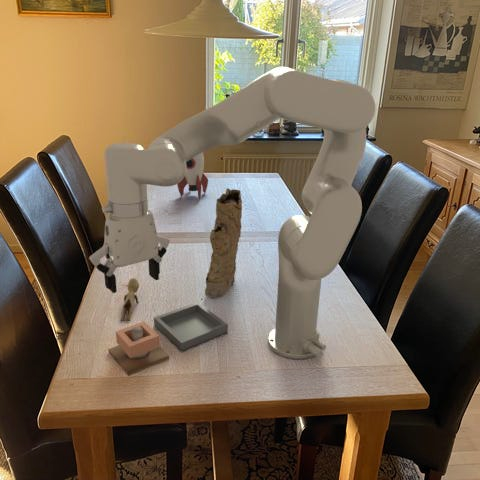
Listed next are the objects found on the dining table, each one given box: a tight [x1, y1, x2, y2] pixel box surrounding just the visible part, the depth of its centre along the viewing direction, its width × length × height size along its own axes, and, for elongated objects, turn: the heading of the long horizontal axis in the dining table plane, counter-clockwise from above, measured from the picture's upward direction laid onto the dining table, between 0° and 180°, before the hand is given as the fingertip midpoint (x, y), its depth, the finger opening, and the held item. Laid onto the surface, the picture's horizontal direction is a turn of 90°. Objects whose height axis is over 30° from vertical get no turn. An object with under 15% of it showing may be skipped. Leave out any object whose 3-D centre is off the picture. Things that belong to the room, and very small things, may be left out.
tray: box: [153, 301, 229, 353], centre depth 121 cm, size 13×13×3 cm
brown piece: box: [108, 327, 170, 377], centre depth 110 cm, size 10×10×7 cm
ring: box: [115, 321, 161, 358], centre depth 109 cm, size 7×7×3 cm
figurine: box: [120, 277, 140, 322], centre depth 130 cm, size 4×4×15 cm
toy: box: [176, 152, 209, 200], centre depth 211 cm, size 11×11×30 cm
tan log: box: [204, 188, 243, 299], centre depth 132 cm, size 14×10×30 cm
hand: (133, 283), depth 104 cm, fingers open, 9 cm apart
